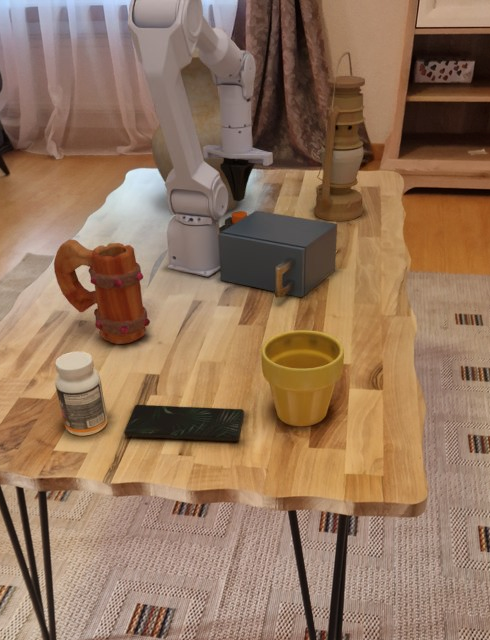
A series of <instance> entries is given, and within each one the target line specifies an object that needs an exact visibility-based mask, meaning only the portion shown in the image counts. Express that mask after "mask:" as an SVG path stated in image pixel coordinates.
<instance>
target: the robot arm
mask: <svg viewBox="0 0 490 640" xmlns="http://www.w3.org/2000/svg"><path fill="white" fill-rule="evenodd" d="M126 25H127V28H128V31H129V34H130V37H131V41H132V43H133V44H132V45H133V47H134V49H135V53H136V56H137V59H138V62H139V63H140V64H142V67H143V72H144V77H145V80H146V84H147V87H148V90H149V93H150V96H151V100H152V103H153V107H154V110H155V112H156V115H157V118H158V122H159V124H160V125H161V129H162V132H163V135H164V138H165V141H166V145H167V148H168V151H169V154H170V158H171V161H172V164H173V167H174V168H173V169H172V170H171V172H170V173H169V175H168V176H167V179H166V182H164V186H165V189H166V190H165V191H166V203H167V206H168V209H169V211H170V212H171V214H172V215H173V216H172V217H171V218H170V220H169V221H168V225H167V228H166V239H167V240H166V241H167V249H168V259H169V261H168V262H169V264H168V265H167V269H169V270H173V271H174V270H175V271H177V272H178V271H179V272H184V273H188V274H192V275H198V276H202V277H210V276H213V275H214V274H215V273H217V272H218V271H220V257H219V239H218V234H220V230H219V228H220V220H221V219H222V218H223V217H224V216H225V214H226V210H227V206H228V191H227V188H226V186H225V184H224V183H223V182H222V180H221V177H220V174H219V172H218V171H217V170H215V169H214V168H213V167H211V166H210V165H208V164H207V163H206V162H205V161H204V159H203V156H204V158H209V157H211V158H219V159H224V161H223V163H222V164H220V168H221V170H222V171H223V173H224V175H225V177H226V179H227V181H228V183H229V186H230V189H231V192H232V196H233V200H234V201H237V202H241V201H242V200H244V199H245V196H246V190H247V187H248V182H249V179H250V176H251V174H252V171H253V169H254V167H255V165H256V164H258V165H262V166H264V167H269V166H270V165H272V164H273V163H274V161H273V160H274V159H273V158H274V157H273V154H274V153H273V152H271V151H266V150H262V149H259V148H256V147H253V148H252V137H253V134H252V133H253V132H252V129H253V128H252V97H253V96H254V91H255V90H254V84H255V82H254V81H255V78H256V72H257V65H256V60H255V57H254V55H253V54H252V53H250V51H249V50H243V49H240V48H239V46H237V44H236V42H234V41H233V40H232V39H231V37H229V35H228V34H227V33H226V29H224V27H223V26H222V27H219V26H217V27H212V26H211V24H210V23H209V21H208V20H207V19H206V18H205V16H204V8H203V2H202V0H130V2H129V7H128V16H127V24H126ZM195 47H197V51H198V56H199V58H200V60H201V61H202V62H203V63H204V64H205V65H206V66H207V67H208V68H209V69H210V72H211V73H212V77H213V81H214V84H215V85H217V87H218V95H219V99H220V115H221V136H222V145H207V146H205V147H203V155H202V151H201V148H200V144H199V140H198V137H197V133H196V129H195V125H194V122H193V118H192V114H191V110H190V107H189V103H188V99H187V95H186V92H185V88H184V84H183V81H182V77H181V69H183V68H184V67H185V66H187V65H188V64H190V63H191V60H192V57H193V53H194V51H195Z"/></svg>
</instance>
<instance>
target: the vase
mask: <svg viewBox="0 0 490 640" xmlns="http://www.w3.org/2000/svg"><path fill="white" fill-rule="evenodd" d="M181 77H182V81H183V84H184V88H185V92H186V95H187V99H188V103H189V107H190V110H191V114H192V118H193V122H194V125H195V129H196V133H197V137H198V140H199V144H200V148H201V151H202V155H203V147H205V146H207V145H222V136H221V115H220V95H219V86H217V85H215V84H214V81H213V77H212V73H211V72H210V69H209V68H208V67H207V66H206V65H205V64H204V63H203V62H202V61H201V60H200V58H199V56H198V51H197V47H195V51H194V53H193V57H192V60H191V63H190V64H188V65H187V66H185V67H184V68H183V69H181ZM252 148H254V137H253V136H252ZM151 152H152V153H151V154H152V158H153V161H154V164H155V166H156V168H157V170H158V172H159V175H160V176H161V178H162V181H163V182H164V183H165V182H166V179H167V176H168V175H169V173H170V172H171V170H172V169H173V168H174V167H173V164H172V161H171V158H170V154H169V151H168V148H167V145H166V141H165V138H164V135H163V132H162V129H161V125H160V123H159V124H158V125H157V127H156V128H155V129H154V131H153V133H152V136H151ZM203 159H204V161H205V162H206V163H207V164H208V165H210V166H211V167H213V168H214V169H215V170H217V171H218V172H219V174H220V177H221V180H222V182H223V183H224V184H225V186H226V188H227V191H228V206H227V210H226V212H229V211H231V210H233V209H235V208H236V206H237V204H238V201H234V200H233V196H232V192H231V189H230V186H229V183H228V181H227V179H226V177H225V175H224V173H223V171H222V170H221V168H220V164H222V163H223V161H224V159H219V158H211V157H209V158H204V156H203ZM226 212H225V213H226Z"/></svg>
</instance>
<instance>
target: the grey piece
mask: <svg viewBox="0 0 490 640" xmlns="http://www.w3.org/2000/svg"><path fill="white" fill-rule="evenodd" d="M218 239H219V257H220V270H219V272H220V273H219V275H220V281H223V282H228V283H232V284H237V285H238V284H239V285H242V286H248V287H252V288H256V289H262V290H265V291H271V292H274V293H275V294H274V296H275V297H276V298H279V299H280V298H282V297H284V296H286V295H288V296H294V297H299V298H303V297H305V296H304V265H305V248H300V247H295V246H289V245H284V244H278V243H273V242H267V241H262V240H256V239H250V238H245V237H239V236H234V235H228V234H223V233H220V234H218Z"/></svg>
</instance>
